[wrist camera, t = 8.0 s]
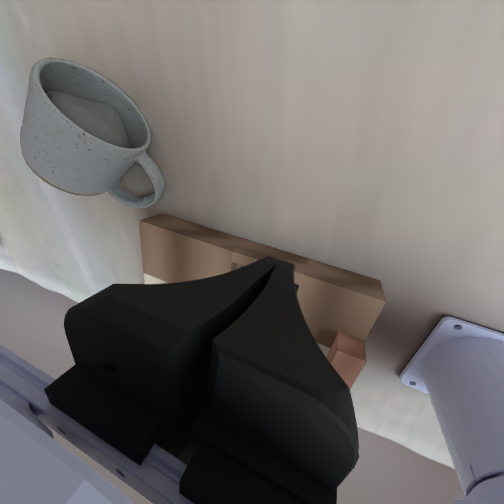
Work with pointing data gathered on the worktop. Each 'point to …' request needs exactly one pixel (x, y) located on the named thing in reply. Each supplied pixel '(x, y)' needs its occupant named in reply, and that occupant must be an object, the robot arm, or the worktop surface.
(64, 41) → the worktop surface
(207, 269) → the trap board
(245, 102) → the worktop surface
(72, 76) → the ceramic mug
